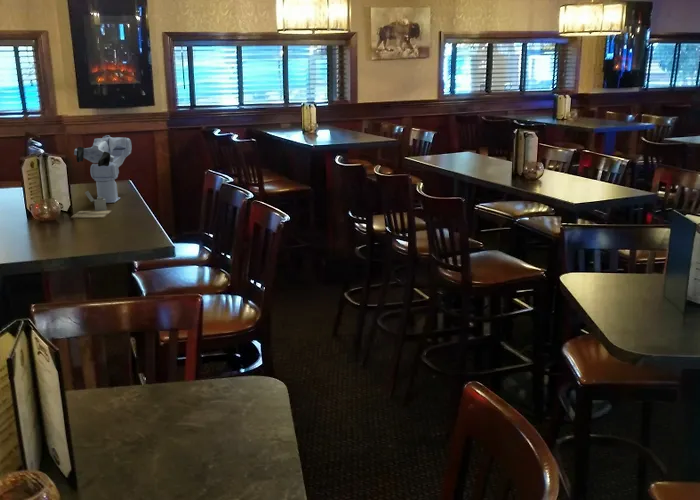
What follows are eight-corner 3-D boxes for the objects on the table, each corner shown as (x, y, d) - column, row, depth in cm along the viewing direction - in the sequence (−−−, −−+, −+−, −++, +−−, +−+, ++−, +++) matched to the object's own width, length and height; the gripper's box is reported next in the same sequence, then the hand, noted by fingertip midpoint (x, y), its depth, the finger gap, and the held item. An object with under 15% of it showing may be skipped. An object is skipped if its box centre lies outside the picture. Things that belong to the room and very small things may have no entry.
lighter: (106, 209, 267) (104, 189, 265) (106, 210, 266) (104, 190, 264) (87, 211, 265) (84, 190, 263) (87, 212, 263) (84, 191, 261)
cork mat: (79, 212, 263) (79, 211, 263) (111, 211, 264) (111, 210, 264) (70, 218, 253) (70, 217, 252) (103, 217, 253) (103, 216, 253)
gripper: (79, 138, 269) (69, 147, 256) (117, 145, 271) (109, 155, 259) (78, 155, 271) (68, 165, 259) (115, 162, 274) (107, 173, 261)
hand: (88, 161), depth 259 cm, fingers open, 7 cm apart
